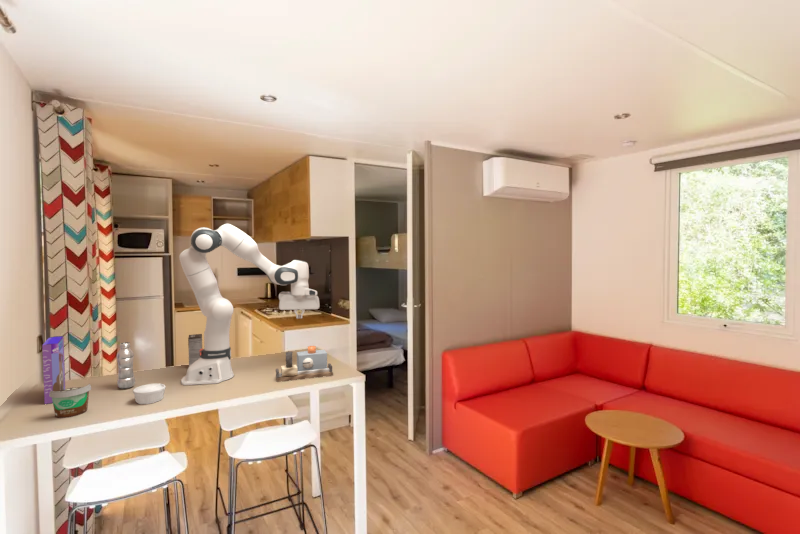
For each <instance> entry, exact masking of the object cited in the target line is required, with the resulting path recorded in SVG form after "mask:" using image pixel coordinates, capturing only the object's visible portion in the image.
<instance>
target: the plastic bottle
mask: <svg viewBox="0 0 800 534" xmlns="http://www.w3.org/2000/svg"><path fill="white" fill-rule="evenodd" d="M134 357H135V352H134V351H133V350H132V349H131V342H130V341H129V342H128V341H127V342H126V341H125V342H121V343H119V350H118V351H117V353H116V362H117V368H118V369H117V370H118V374H117V375H118V377H117V382H116V383H117V387H118V388H119V389H129V388H132V387H133V386H134V385H135V384H136V377H135V375H134V359H135V358H134Z"/></svg>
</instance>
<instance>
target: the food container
mask: <svg viewBox="0 0 800 534" xmlns="http://www.w3.org/2000/svg"><path fill="white" fill-rule="evenodd" d="M91 390H92V386H91V384H90V383H88V385H86V386H79V387H70V388H68V387H67V388H65V390H60V391H52V390H51V391H50V394H49V396H50V397H52V401H53V403H52V405H53V410H54V411H53V412H54V416H55V418H56V419H67V418H72V417H76V416H80V415H82V414H84V413H86V412H87V411H88V406H89V396H90V395H89V394H90V391H91Z"/></svg>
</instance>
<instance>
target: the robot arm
mask: <svg viewBox="0 0 800 534" xmlns="http://www.w3.org/2000/svg"><path fill="white" fill-rule="evenodd" d="M221 246H222V247H223V248H225V249H227V250H228V251H229V252H231V253H232V254H233V255H235V256H237V257H238V258H240V259H242V260H245V261H247V262H250V263H251V264H253V265H254V266H256V267H257V268H258V269H260V270H261V271H262V272H264V273H265V274H266V276H267V278H268V279H269V281H270V282H271V284H274V285H278V286H279V285H280V286H287V285H290V291H284V290H283V291H281V292H279V294H278V300H279V302H278V309H279V310H281V311H285V310H286V311H292V310H293V312H294V314H295V317H296V319H303V315H304V314H305V311H306V310H318V309H320V306H321V305H320V298H319V296H318V291H317V290H315V289H312V288H309V287H310V286H309V278H310V269H309V268H310V267H309V263H308V262H307V261H305V260H301V259H293V260H292V261H291V262H287V263H285V264H283V265H279V264H275V263H274V262H272V261H271V260H269V259H268V257H266V256H265V255H263V253H261V251H260V249H259V245H258V244H257V242H256V241H255V240H254V238H252V237H251V236H250V235H248V234H247V233H246V232H245V231H243V230H241V229H240V228H238V227H236V226H235V225H233V224H231V223H224V224H222V225H220V226H219V227H218V228H216V229H214V230H213V229H211V228H209V227H206V226H201V227H199V228H197V229H195V230H193V232H192V234H191V236H190V246H189V247H188V248H186V249H184V250H183V251H181V252H180V253H179V256H178V259H179V262H180V266H181V268H182V271H183V273H184V275H185V277H186V279H187V282H188V284H189V286H190V288H191V290H192V292H193V294H194V297H195V299H196V300H195V301H196V302H197V304H198V307H199V310H200V312H201V314H202V315H203V316H204V317H206V321H205V328H204V329H205V330H204V332H203V346H204V347H203V348H202V349H200V351H199V352H200V358H199V359H198V360H196V361H195V362H194V363H193V364H191V365H190V366H189V365H188V367H187V370H186V375H184V376H183V377H181V380H180V382H181V383H180V384H181V385H183V386H190V385H192V386H194V385H212V384H219V383H222V382H224V381H227V380H230V379H232V378H233V377H234V376H235V374H234V371H233V368H232V362H231V358H232V348H231V346H230V345H231V344H230V343H231V342H230V340H231V339H230V332H231V331H230V329H231V323H232V316H233V315H234V306H233V304H232V302H231V301H230V300H229V299H227V298H225V297H223V296H222V293H221V292H220V289H219V288H220V287H219V284H218V280H217V278H216V275H215V274H214V272H213V269H212V267H211V265H210V263H209V261H208V259H207V254H208V253H211V252H213V251H214V250H216V249H217V248H219V247H221ZM298 310H301V313H300V314H298V313H297V312H298Z"/></svg>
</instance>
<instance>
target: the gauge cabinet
mask: <svg viewBox="0 0 800 534" xmlns="http://www.w3.org/2000/svg"><path fill="white" fill-rule="evenodd" d="M296 366H297V368H298V371H306V370H316V369H325V368H328V352H327V351H326V350H325V349H316V353H313V354H309V353H308V350H305V351H296Z"/></svg>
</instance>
